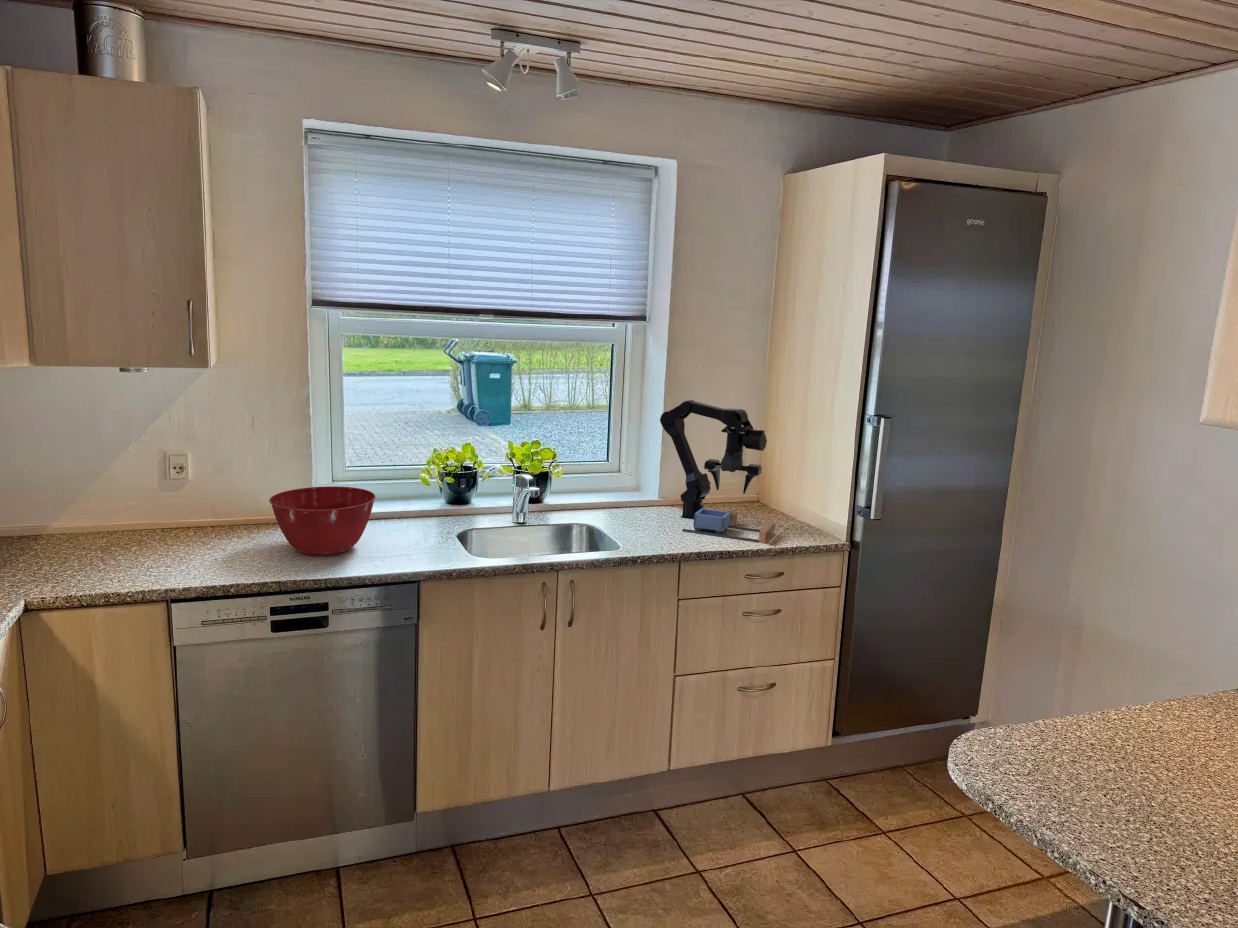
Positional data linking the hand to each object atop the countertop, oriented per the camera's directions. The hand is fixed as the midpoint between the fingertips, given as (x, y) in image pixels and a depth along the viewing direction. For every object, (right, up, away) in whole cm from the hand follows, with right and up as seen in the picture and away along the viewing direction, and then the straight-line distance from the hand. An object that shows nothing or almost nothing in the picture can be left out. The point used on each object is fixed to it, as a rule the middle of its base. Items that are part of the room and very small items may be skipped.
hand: (730, 491), depth 296 cm
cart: (-7, -12, -7) cm, 16 cm away
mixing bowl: (-122, -15, -48) cm, 132 cm away
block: (-1, -12, +2) cm, 12 cm away
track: (-2, -13, -9) cm, 16 cm away
